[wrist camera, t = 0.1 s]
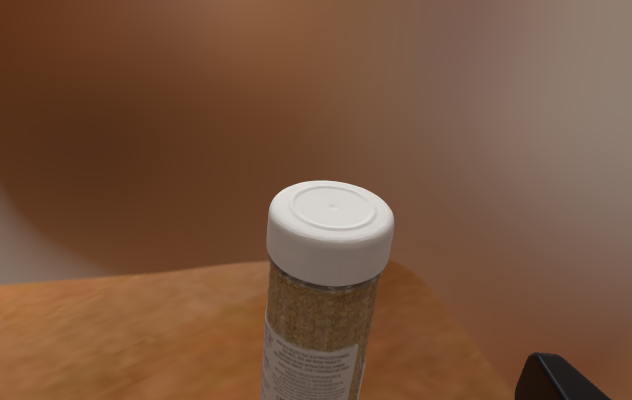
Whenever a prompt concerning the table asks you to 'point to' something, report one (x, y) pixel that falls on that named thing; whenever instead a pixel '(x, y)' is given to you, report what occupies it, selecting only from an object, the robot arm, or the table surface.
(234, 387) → the table surface
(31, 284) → the table surface
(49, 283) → the table surface
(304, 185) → the sprinkles bottle
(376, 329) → the table surface
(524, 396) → the robot arm
